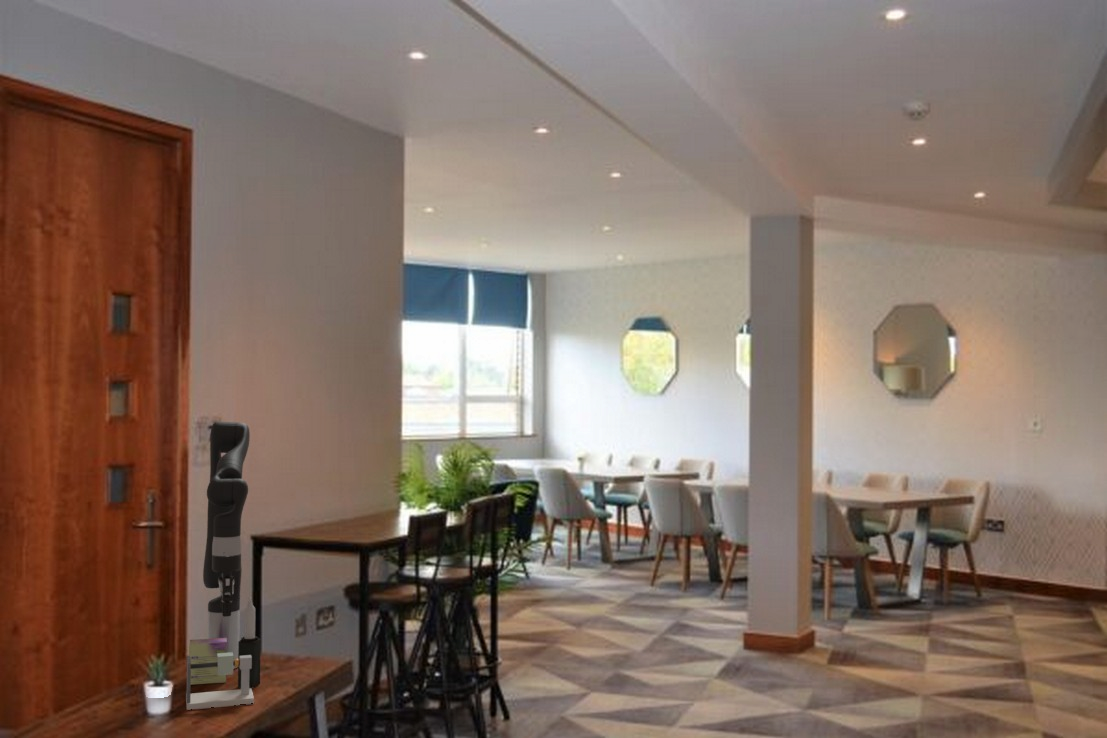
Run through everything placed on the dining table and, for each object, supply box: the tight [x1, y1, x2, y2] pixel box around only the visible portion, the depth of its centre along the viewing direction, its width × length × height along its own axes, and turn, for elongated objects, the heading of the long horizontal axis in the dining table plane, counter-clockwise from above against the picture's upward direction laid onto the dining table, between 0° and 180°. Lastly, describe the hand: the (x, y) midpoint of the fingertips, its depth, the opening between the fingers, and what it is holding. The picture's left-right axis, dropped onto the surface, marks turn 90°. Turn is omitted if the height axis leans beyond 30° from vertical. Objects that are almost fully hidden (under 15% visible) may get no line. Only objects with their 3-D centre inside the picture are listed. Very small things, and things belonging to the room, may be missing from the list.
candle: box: [237, 596, 262, 689], centre depth 298 cm, size 5×5×25 cm
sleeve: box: [217, 652, 234, 676], centre depth 282 cm, size 4×4×5 cm
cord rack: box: [185, 655, 255, 711], centre depth 282 cm, size 10×17×12 cm, turn 110°
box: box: [188, 638, 227, 686], centre depth 302 cm, size 10×6×12 cm, turn 108°
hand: (225, 612), depth 283 cm, fingers open, 8 cm apart
